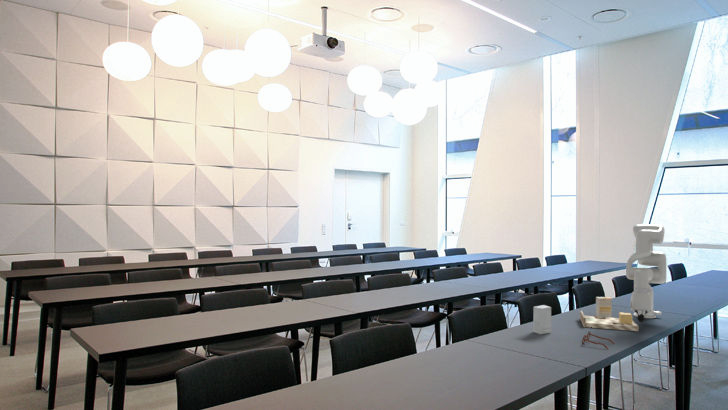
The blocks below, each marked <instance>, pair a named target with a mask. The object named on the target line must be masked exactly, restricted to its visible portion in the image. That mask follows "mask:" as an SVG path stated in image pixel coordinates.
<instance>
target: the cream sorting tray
mask: <svg viewBox="0 0 728 410" xmlns="http://www.w3.org/2000/svg"><path fill="white" fill-rule="evenodd" d="M579 320H580V322H581V324H582V326H583V328H591V327H592V329H593V328H594V329H607V330H619V331H631V332H632V331H634V332H639V329H640V327H639V325H638V324H637V323H636V322H635V321H634V320H633V319H632V324H629V323H621V322H620V321H619V317H612V318H610V317H596V315H594V316H593V315H585V314H584V312H583V310H579Z"/></svg>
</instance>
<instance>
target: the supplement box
mask: <svg viewBox="0 0 728 410" xmlns="http://www.w3.org/2000/svg"><path fill="white" fill-rule="evenodd" d="M612 301H613V300H612V297H610V296H595V316H596V317H610V318H613V317H612V316H613V314H612V313H613V312H612V309H613V308H612V305H613V304H612Z"/></svg>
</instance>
